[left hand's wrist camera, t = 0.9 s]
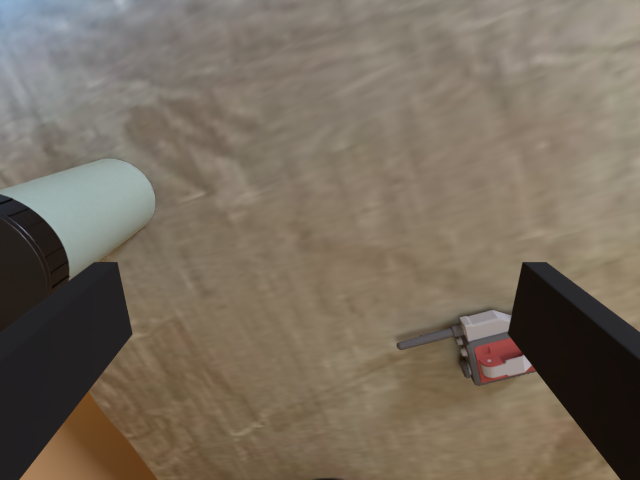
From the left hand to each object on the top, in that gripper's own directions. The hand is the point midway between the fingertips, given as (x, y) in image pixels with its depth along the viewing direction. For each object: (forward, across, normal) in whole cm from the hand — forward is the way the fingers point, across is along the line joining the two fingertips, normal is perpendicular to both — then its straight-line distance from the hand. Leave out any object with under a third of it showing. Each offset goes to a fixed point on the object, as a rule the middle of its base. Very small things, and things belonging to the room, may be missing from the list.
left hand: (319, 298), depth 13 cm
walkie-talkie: (+28, +20, -22) cm, 41 cm away
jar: (+28, -21, -4) cm, 35 cm away
